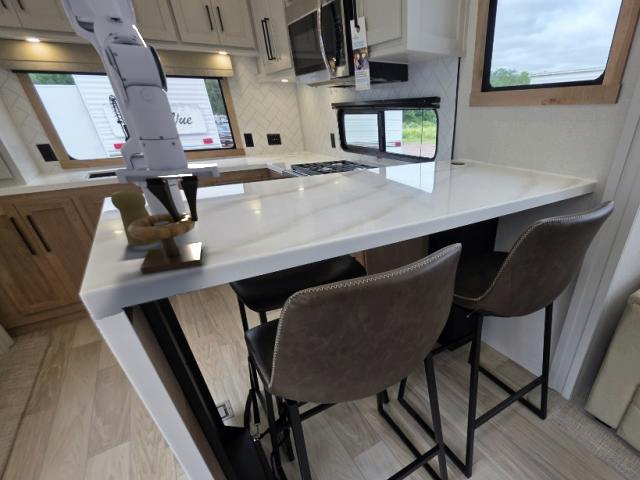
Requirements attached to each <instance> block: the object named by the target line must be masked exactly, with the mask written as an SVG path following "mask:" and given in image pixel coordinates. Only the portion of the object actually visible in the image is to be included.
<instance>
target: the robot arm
mask: <svg viewBox="0 0 640 480" xmlns="http://www.w3.org/2000/svg"><path fill="white" fill-rule="evenodd" d="M60 3H61V5H62V8H63V10H64V12H65V15H66V17H67V18H68V22H69V24H70V26H71V28H72V30H74V31H75V34H76V36H78V37H80V38H81V39H84V40H85V41H89V42H90V43H91V44H92V46H93V48H94V49H95V50H96V52H97V53H98V55H99V58H100V60H101V62H102V65H103V67H104V70H105V72H106V75H107V78H108V81H109V85H110V86H111V89H112V92H113V94H114V97H115V99H116V100H115V101H116V102H117V104H118V107H119V111H120V113H121V116H122V118H123V121H124V124H125V126H126V129H127V131H128V135H129V138H128V139H127V140H126V141H125V142H124V143H123V144H122V145H121V146H120V154H121V156H122V161H123V164H124V166H125V168H118V169H117V168H116V170H114V173H115V176H116V178H117V180H118V183H119V184H120V185H121V184H122V185H123V184H129V183H133V184H134V185H135V186H139V187H140V188H141V191H142V194H143V195H144V197H145V200H146V204H147V206H148V208H149V211H150V214H151V216H152V215H156V214H165V213H169V214H170V215H171V217H172V218H173V220H174V222H178V221H180V216H179V213H184V214H187V215H188V212H187V207H186V205H185V202H184V199H183V196H182V192H181V190H180V188H179V185H178V184H179V181H180V186H181V189H182V191H183V194H184V196H185V199H186V202H187V204H188V209H189V213H190V216H191V217H192V220H193V222H195V223H196V222H198V220H199V217H198V211H197V209H198V208H197V197H198V196H197V195H198V187H199V182H200V178H201V179H202V178H220V177H221V175H220V171H219V167H218V164H217V163H206V164H205V163H201V164H198V163H193V164H191V163H190V164H188V161H187V156H186V154H185V151H184V148H183V145H182V141H181V138H180V134H179V131H178V127H177V124H176V121H175V118H174V115H173V111H172V108H171V105H170V101H169V98H168V95H167V93H168V81H167V76H166V72H165V69H164V66H163V65H164V64H163V63H162V60H161V58H160V55H159V54H158V52H157V51H158V50H157V49H156V47H155V45H153V44H146V43H145V41H144V40H143V38H142V36H141V34H140V33H139V31H138V29H137V17H136V13H135V9H134V5H133V3H132V0H60Z"/></svg>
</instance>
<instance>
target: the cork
mask: <svg viewBox="0 0 640 480" xmlns="http://www.w3.org/2000/svg"><path fill="white" fill-rule="evenodd" d="M110 200H111V201H110V202H111V204H112V205H113V206H114V208H115V209H117V210H119V214H120V217H121V221H122V225H123V229H124V232H125V236H126V240H127V244H128V245H129V246H132V247H133V246H134V247H140V246H141V247H142V246H147V245H152V244H156V243H158V242H160V240H139V239H137V238H135V237H133V236H131V235H130V234H129V233H128V231H127V229H128V227H129V225H130V224H131V223H132V222H133V221H136V220H138V219H141V218H143V217H147V216H151V215H150V214H149V212H148V210H147V208H146V204H147V201H146V199H145V196H144V193H143V192H141V191H139V190H137V189H124V190H119V191H115V192H113V193H111V196H110Z"/></svg>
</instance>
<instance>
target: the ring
mask: <svg viewBox="0 0 640 480" xmlns="http://www.w3.org/2000/svg"><path fill="white" fill-rule="evenodd" d="M179 216H180V221H178V222H174V220H173V218H172V217H171V215H170V214H169V213H165V214H156V215H152V214H151V215H150V216H147V217H143V218H141V219H138V220H136V221H133V222H132V223H131V224H130V225H129V227H128V229H127V231H128V233H129V234H130V235H131V236H133V237H135V238H137V239H139V240H159V239H167V238H172V237H175V238H176V237H179V236H182V235H185V234H187V233H189V232H191V231H192V230H194V229H195V226H196V222H193V220H192V217H191V214H188V213H187V214H184V213H179ZM161 221H168V222H170V224H167V225H162V226H154V223H157V222H161Z"/></svg>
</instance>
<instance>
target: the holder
mask: <svg viewBox="0 0 640 480" xmlns="http://www.w3.org/2000/svg"><path fill="white" fill-rule="evenodd" d="M167 224H170V222H168V221H161V222H157V223H154V226H162V225H167ZM159 240H160V241H159V243H160V245H161V247H160V248H152V249H148V251H147V252H146V255H145V257H144V259H143V261H142V264H141V266H140V268H139V269H140V272H141V274H142V275H149V274H155V273H161V272H168V271H175V270H181V269H186V268H194V267H200V266H202V262H203V252H204V250H203V248H202V242H198V243H190V244H184V245H178V243H177V239H176V237H172V238H167V239H159Z"/></svg>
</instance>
